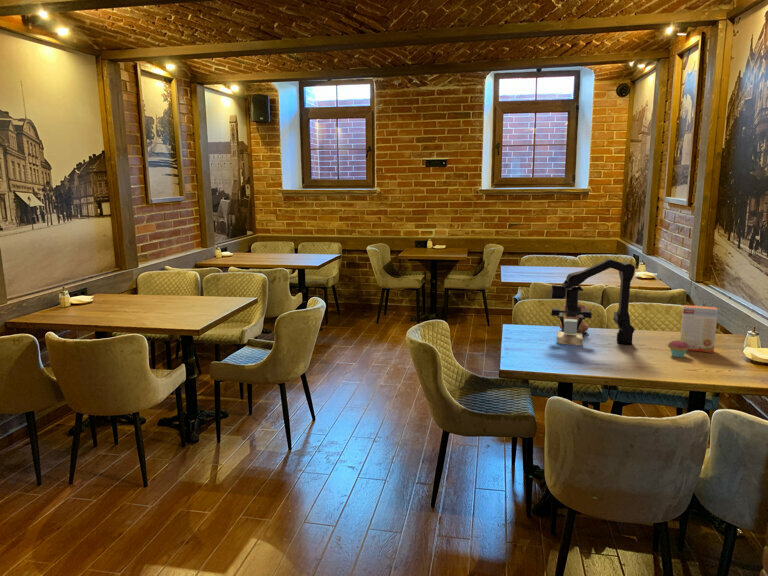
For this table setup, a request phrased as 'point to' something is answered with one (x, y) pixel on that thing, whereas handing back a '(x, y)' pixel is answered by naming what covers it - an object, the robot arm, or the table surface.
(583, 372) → the table surface
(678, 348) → the cupcake
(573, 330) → the gray cube
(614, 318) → the robot arm
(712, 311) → the cracker box
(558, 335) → the birch board
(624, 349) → the table surface
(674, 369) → the table surface
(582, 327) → the ceramic jug
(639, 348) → the table surface
